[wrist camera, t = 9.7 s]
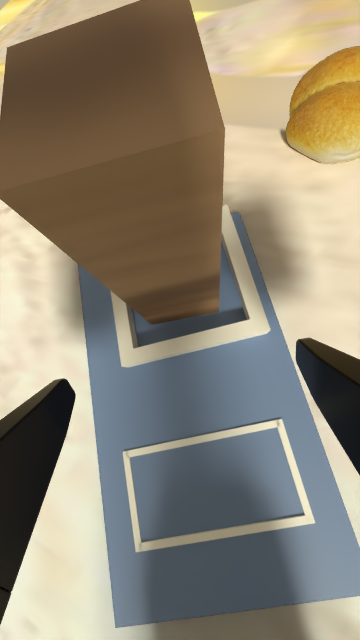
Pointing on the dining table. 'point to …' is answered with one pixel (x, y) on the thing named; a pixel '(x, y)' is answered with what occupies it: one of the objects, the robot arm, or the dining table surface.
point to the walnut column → (121, 154)
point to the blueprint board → (211, 457)
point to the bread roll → (328, 109)
